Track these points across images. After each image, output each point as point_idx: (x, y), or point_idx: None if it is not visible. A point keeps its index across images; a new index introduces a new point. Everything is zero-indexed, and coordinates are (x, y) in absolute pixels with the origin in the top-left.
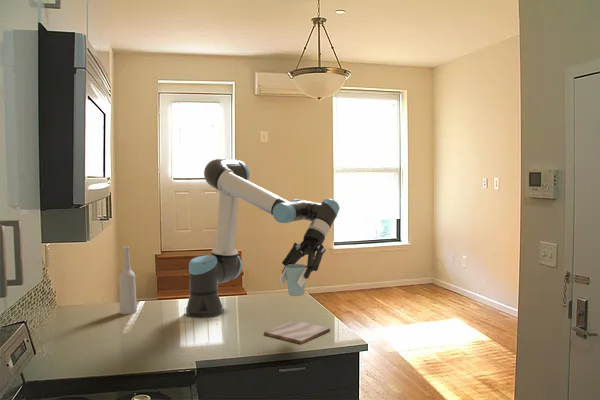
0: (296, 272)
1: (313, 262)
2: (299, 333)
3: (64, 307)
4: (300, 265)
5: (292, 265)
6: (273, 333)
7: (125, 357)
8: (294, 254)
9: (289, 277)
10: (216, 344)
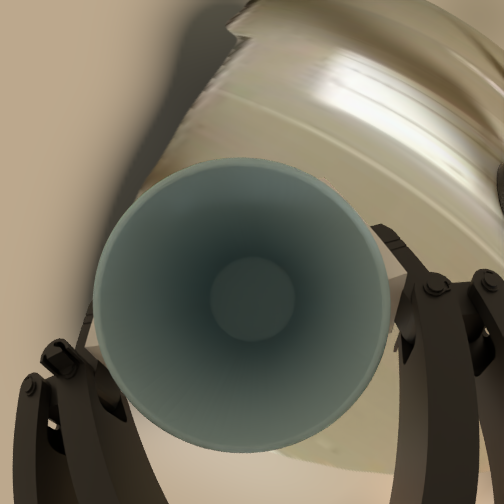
0: (144, 238)
1: (32, 427)
2: None
3: None
4: (291, 429)
5: (369, 348)
6: None
7: (335, 3)
8: (476, 467)
9: (231, 213)
10: (314, 86)
